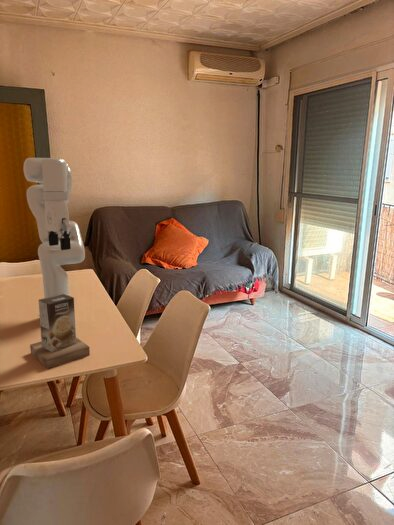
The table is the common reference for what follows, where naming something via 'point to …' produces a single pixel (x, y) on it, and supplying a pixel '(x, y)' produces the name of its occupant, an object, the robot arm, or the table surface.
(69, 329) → the coffee box
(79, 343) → the brownish grey square block
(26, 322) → the table surface
